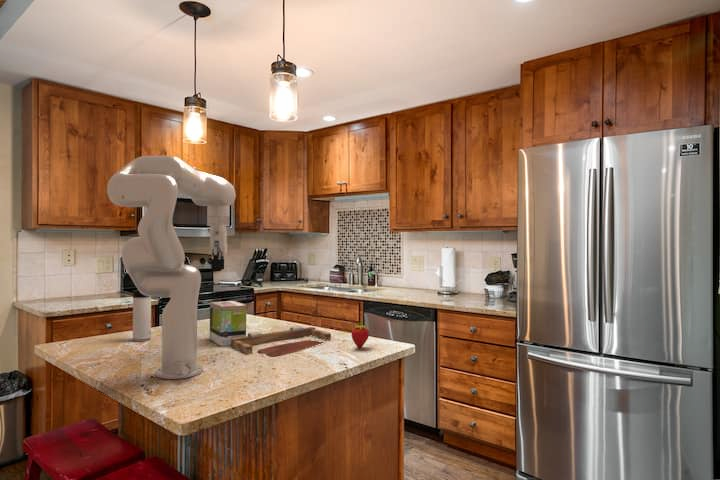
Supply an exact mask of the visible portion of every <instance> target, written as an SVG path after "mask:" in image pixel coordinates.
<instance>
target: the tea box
mask: <svg viewBox="0 0 720 480" xmlns="http://www.w3.org/2000/svg"><path fill="white" fill-rule="evenodd" d="M247 307H248V306H247V304H245V303H242V302H239V301H236V300H227V301H226V300H225V301H212V302H211V301H210V303H209V339H210V340H211V341H213V342H214V343H216V344H217V345H218V346H220V347H227V346H231V338H238V337H245V336H247V312H248V311H247Z"/></svg>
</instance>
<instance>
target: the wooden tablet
mask: <svg viewBox="0 0 720 480" xmlns="http://www.w3.org/2000/svg"><path fill="white" fill-rule="evenodd" d="M311 340H312V339H311ZM311 340H310V339H307V340H300V341H295V342H288V343H283V344H278V345H271V346H269V347H265V348H264V347H263V348H261V349H258V350H257V354H261V355H266V356H267V357H272V358H274V357H279V356H280V357H281V356H283V355H289V354H292V353H296V352H300V351H304V350H307V349H310V348H309V347H311V348H313V347H312V346H314V347H316V346H315V345H318V344H321V343H323V342H324V341H321V342H319V341H320V340H314V341H311ZM321 345H322V344H321ZM318 346H319V345H318ZM306 348H307V349H306ZM303 349H304V350H303Z"/></svg>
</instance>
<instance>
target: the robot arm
mask: <svg viewBox="0 0 720 480" xmlns="http://www.w3.org/2000/svg"><path fill="white" fill-rule="evenodd" d="M106 192H107V196H108V199H109V200H110V201H111V203H113V204H114V205H116V206H118V207H123V208H147V209H146V211H145V213H144V214H143V216H142V217H141V218H140V221H139V223H138V225H137V233H138V236H134V237H130V238H129V239H127V240H126V241H125V243H124V244H123V246H122V250H121V260H122V264H123V266H124V269H125V270H126V272H127V274H128V275H129V277H130V279H131V280H132V282H133V284H134V286H135V287H136V288H137V289H138V290H139V292H140V293H141V294H143V295H145V296H150V297H151V298H152V297H154V298H155V297H156V298H170V299H169V301H168V302H167V304H165V307H164V308H163V310H162V313H161V367H159V368H157V369H156V370H155V376H156V377H157V378H160V379H164V380H179V379H180V380H181V379H186V378H191V377H194V376H197V375H199V374H201V373H202V372H203V366H202V365H201V364H200V363H199V364H198V303H199V302H198V301H199V294H200V289H201V284H202V274H201V272H200V270H199V269H198V268H197V267H195V266H194V265H192V264H191V265H190V264H185V261H186V256H185V255H186V254H185V251H184V248H183V245H182V243H181V241H180V239H179V237H178V234H177V232H176V230H175V227H174V224H173V216H174V213H175V209H176V205H177V199H178V194H180V195H182V196H185V197H190V199H191V200H192V202H193V203H194V204H195V205H197V206H199V207H200V206H201V207H206V208H207V213H206V215H207V216H206V226H207V227H210V231H209V232H210V233H209V242H210V243H209V244H210V245H209V247H210V249H209V250H210V253H211V260H210V262H211V264H210V265H211V266H210V267H211V268H210V269H211V272H221V271H222V270H225V255H226V254H227V253H228V233H227V232H228V231H227V228H228V227H230V218H231V217H230V214H231V213H230V211H231V210H230V206H231V205H233V204H234V203H235V200H236V197H237V196H236V190H235V187H234V185H233V184H232V183H231V182H230V181H228V180H227V179H225V178H223V177H221V176H218V175H213V174H209V173H207V172H204V171H200V170H197V169H195V168H194V167H192V166H191V165H189V164H188V163H186V162H185V161H184V160H182V159H181V158H179V157H177V156H173V155H142V156H139V157H136V158H134V159H132V160H131V161H129V162H128V163H127V164H126V165H124V166H123V167H122V168H121V169H119V170H118V171H117V172H115V173H114V174H113V175H112V176H111V177H110V179H109V180H108V182H107V186H106ZM137 289H136V290H137Z"/></svg>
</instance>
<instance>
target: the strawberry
mask: <svg viewBox="0 0 720 480" xmlns="http://www.w3.org/2000/svg"><path fill="white" fill-rule="evenodd" d="M366 327H367V325H363V324H362V325H361V324H358V325H354V326H353V329H352V330H351V334H350V335H351V338H352V341H353V343H354V345H356V346H357V348H358V349H359V348H361V349H362V348H363V346H364V345H365V344H366V342H367V341H368V339H369V336H370V331H369V329H368V328H366Z"/></svg>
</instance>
